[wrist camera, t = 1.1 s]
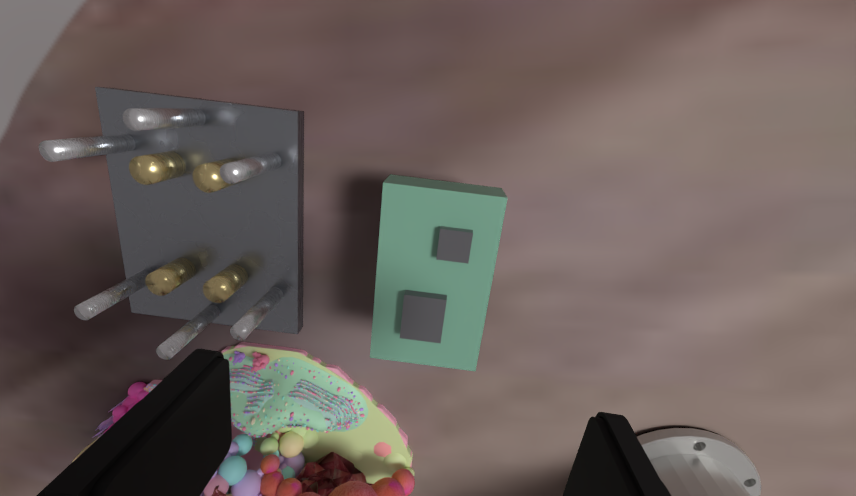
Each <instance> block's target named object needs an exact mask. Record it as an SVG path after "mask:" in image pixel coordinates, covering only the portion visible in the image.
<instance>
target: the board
mask: <svg viewBox="0 0 856 496" xmlns="http://www.w3.org/2000/svg"><path fill="white" fill-rule="evenodd" d="M506 203H507V196H506V195H505V193H504V191H503V190H502V188H496V187H488V186H480V185H472V184H464V183H456V182H448V181H440V180H431V179H423V178H415V177H407V176H399V175H391V174H390V175H389V176H388V178H387V179H386V180H385V181H384V182H383V190H382V203H381V217H380V230H379V243H378V257H377V270H376V283H375V297H374V310H373V323H372V337H371V350H370V358H377V359H385V360H393V361H400V362H408V363H416V364H423V365H431V366H439V367H446V368H454V369H462V370H469V371H476V365H477V360H478V355H479V349H480V344H481V338H482V333H483V328H484V322H485V317H486V311H487V306H488V301H489V295H490V290H491V284H492V279H493V274H494V268H495V263H496V257H497V252H498V247H499V241H500V236H501V230H502V225H503V220H504V214H505V209H506Z"/></svg>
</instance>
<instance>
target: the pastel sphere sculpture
mask: <svg viewBox="0 0 856 496" xmlns="http://www.w3.org/2000/svg"><path fill="white" fill-rule="evenodd" d="M221 353H222V354H223V356H224V359H228V361H229V369H230V398H231V426H232V442H231V446H230V449H229V451H228V453H227V455H226V457H225V458H224V460H223V461H222V463H221V464H220V466H219V467H218V469H217V470H216V472H215V473H214V475H213V476H212V478H211V480H210V481H209V483H208V484H207V486H206V487H205V489H204V490H203V492H202V493H201V495H200V496H408V495H409V494H410V493H411V492H412V491H413V489H414V485H415V481H414V475H415V474H414V470H413V469H412V468H411V464H412V456H413V453H412V451H411V450H410V448H409V446H408V445H407V442H408V436H407V435H406V434H405V433H404V432H403V431H402V430H401V428H399V426H398V424H397V421H396V418H395V417H394V416H393V415H392V414H391V413H390V412H389V411H388V410H387V409H386V408H385V407H384V406H383V405H381V404H378V403H377V402H376V401H375V400H374V399H373V398H372V394H371V393H370V392H369V391H368V390H367V389H366V388H365V387H364V386H361V385H358V384H357V383H355V382H354V381H353V380H352V379H351V378H350V377H348V375H347V374H346V373H345V372H343V371H342V370H341V368H340V367H338V366H336V365H329V364H326V363H324V362H322V361H321V360H320V359H319V358H316V357H313V356H311V355H309V354H308V353H307V352H306V351H304V350H301V349H295V348H288V347H281V346H273V345H265V344H257V343H249V342H240V343H239V344H238V345H236V346H227V347H226V348H225V349H224V350H222V351H221ZM161 381H162V380H157V379H156V380H153V381H151V382H150V383H149V384H145V383H144V382H136V383H134V384H132V385H131V386H130V387H129V389H128V396H127V397H126V398H125V399H124V400H123V401H121V402H120V403H119V404H118V405H116V406H115V407H113V408H112V409H111V410H110V411H112V410H113V412H112V416H111V417H110V418H108V419H107V420H105V421H103V422H102V423H101V424H99V425H98V426H97V427H98V428H97V429H99V430H101V429H102V430H101V431H100V432H98V433H97V434H96V435H95V436H97V435H99V434H100V433H102V432H103V431H104V430H105V429H107V428H108V429H109V428H110V427H111V426H112V425H114V424H112V423H113V422H114V423H116V422H117V421H118V420H119V419H120V418H121V417H122V416H123V415H124V414H125V413H127V412H128V411H129V410H130V409H131V408H132V407H133V406H134V405H135V404H136V403H138V402H139V401H140V400H142V399H143V398H144V397H145V396H146V395H147V394H148V393H149V392H150V391H152V390H153V389H154V388H155V387H156V386H157V385H158V384H159V383H160V382H161ZM121 404H122V405H121ZM110 411H109V412H110ZM111 424H112V425H111ZM97 429H96V430H97ZM108 429H107V430H108ZM96 430H95V431H96ZM107 430H105V431H104V433H105V432H106V431H107ZM104 433H103V434H104ZM103 434H101V435H99V436H98V438H99V437H101V436H102V435H103ZM95 436H94V437H95ZM92 438H93V437H92ZM98 438H97V439H98ZM97 439H96V440H97ZM96 440H95V441H96ZM95 441H94V442H95ZM94 442H92V443H91V444H90V445H88V446H87V447H86V448H84V449H83V450H82V451H81V452H80V453H79V454H78V455H77V456H76V458H75V459H74V460H73V461H72V462H74V461H75V460H76V459H77V458H78V457H79V456H80V455H81V454H82V453H83V452H84V451H85V450H86V449H88V448H89V447H90V446H91V445H92V444H93V443H94Z"/></svg>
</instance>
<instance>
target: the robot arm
mask: <svg viewBox="0 0 856 496" xmlns="http://www.w3.org/2000/svg"><path fill="white" fill-rule="evenodd" d="M231 442H232V426H231V398H230V369H229V361H228V359H224V356H223V354H222V353H221V352H217V351H211V350H205V349H196V350H195V351H194V352H192V353H191V354H190V355H189V356H188V357H187V358H186V359H185V360H184V361H183V362H182V363H181V364H180V365H178V366H177V367H176V368H175V369H174V370H173V371H172V372H171V373H170V374H169V375H168V376H167V377H166V378H164V379H163V380H162V381H161V382H160V383H159V384H158V385H157V386H156V387H155V388H154V389H153V390H152V391H150V392H149V393H148V394H147V395H146V396H145V397H144V398H143V399H142V400H140V401H139V402H138V403H136V404H135V405H134V406H133V407H132V408H131V409H130V410H129V411H128V412H127V413H125V414H124V415H123V416H122V417H121V418H120V419H119V420H118V421H117V422H116V423H115V424H114V425H112V426H111V427H110V428H109V429H108V430H107V431H106V432H105V433H104V434H103V435H102V436H101V437H99V438H98V439H97V440H96V441H95V442H94V443H93V444H92V445H91V446H90V447H89V448H88V449H86V450H85V451H84V452H83V453H82V454H81V455H80V456H79V457H78V458H77V459H76V460H75V461H74V462H72V463H71V464H70V465H69V466H68V467H67V468H66V469H65V470H64V471H63V472H62V473H61V474H59V475H58V476H57V477H56V478H55V479H54V480H53V481H52V482H51V483H50V484H49V485H48V486H46V487H45V488H44V489H43V490H42V491H41V492H40V493H39V494H38V495H37V496H200V495H201V493H202V492H203V490H204V489H205V487H206V486H207V484H208V483H209V481H210V480H211V478H212V476H213V475H214V473H215V472H216V470H217V469H218V467H219V466H220V464H221V463H222V461H223V460H224V458H225V457H226V455H227V453H228V451H229V449H230V446H231ZM760 493H761V482H760V476H759V474H758V472H757V469H756V467H755V465H754V464H753V463H752V462H751V460H750V459H749V458H748V457H747V455H746V454H745V453H744V452H743V451H742V450H741V449H740V448H739V447H738V446H737V445H736V444H735V443H733V442H732V441H730V440H728V439H726V438H725V437H723V436H721V435H718V434H715V433H712V432H709V431H705V430H699V429H693V428H670V429H662V430H656V431H653V432H649V433H645V434H642V435H640V436H637V437H636V435H635V433H634V431H633V429H632V428H631V426H630V424H629V422H628V420H627V419H626V418H625V417H624V416H623V415H617V414H611V413H604V412H599V413H598V414H597V415H596V417H591V418H590V419H589V421H588V424H587V427H586V430H585V433H584V436H583V438H582V441H581V444H580V447H579V450H578V453H577V455H576V458H575V461H574V464H573V467H572V470H571V473H570V475H569V478H568V481H567V484H566V487H565V490H564V493H563V496H760Z"/></svg>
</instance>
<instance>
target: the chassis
mask: <svg viewBox="0 0 856 496" xmlns="http://www.w3.org/2000/svg"><path fill="white" fill-rule="evenodd" d="M95 90H96V96H97V102H98V108H99V115H100V121H101V127H102V133H103V136H97V137H85V138H72V139H60V140H48V141H42V142H41V143H40V144H39V152H40V154H41V155H42V157H43V158H45V159H46V160H48V161H51V162H54V161H61V160H68V159H76V158H83V157H90V156H98V155H105V154H106V158H107V164H108V170H109V176H110V183H111V189H112V195H113V201H114V207H115V214H116V220H117V226H118V232H119V238H120V245H121V251H122V257H123V263H124V269H125V275H126V280H124V281H122V282H120V283H118V284H116V285H114V286H112V287H111V288H109V289H107V290H105V291H103V292H101V293H99V294H97V295H95V296H93V297H92V298H90V299H88V300H86V301H84V302H82V303H80V304H78V305H76V306H75V308H74V313H75V315H76V316H77V317H78V318H80V319H82V320H89V319H91V318H92V317H94V316H96V315H97V314H99V313H101V312H103V311H104V310H106V309H108V308H109V307H111V306H113V305H115V304H116V303H118V302H120V301H121V300H123V299H125V298H127V297H128V296H129V300H130V306H131V313H139V314H147V315H154V316H162V317H170V318H177V319H185V320H190V321H189V322H187V323H186V324H185V325H184V326H183V327H181V328H180V329H179V330H178V331H176V332H175V333H174V334H173V335H172V336H170V337H169V338H168V339H167V340H165V341H164V342H163V343H162V344H160V345H159V346H158V347H157V349H156V353H157V355H158V356H159V357H160V358H162V359H165V360H169V359H171V358H172V357H173V356H174V355H176V354H177V353H178V352H179V351H180V350H181V349H182V348H183V347H184V346H186V345H187V344H188V343H189V342H190V341H191V340H192V339H193V338H195V337H196V336H197V335H198V334H199V333H200V332H201V331H202V330H203V329H205V328H206V327H207V326H208V325H209V324H210V323H216V324H223V325H231V326H232V328H231V329H230V333H231V336H232V337H233V338H234V339H236V340H240V341H241V340H245V339H246V338H247V337H248V336H249V335H250V333H251V332H252V331H253V330H254V329H262V330H269V331H277V332H285V333H293V334H298V333H299V331H300V330H301V328H302V327H303V180H304V111H296V110H288V109H280V108H272V107H263V106H255V105H247V104H239V103H231V102H222V101H214V100H206V99H198V98H189V97H181V96H173V95H165V94H156V93H148V92H140V91H132V90H124V89H115V88H105V87H95Z"/></svg>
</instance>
